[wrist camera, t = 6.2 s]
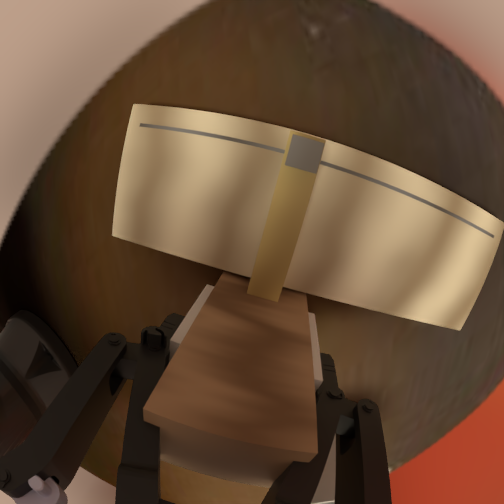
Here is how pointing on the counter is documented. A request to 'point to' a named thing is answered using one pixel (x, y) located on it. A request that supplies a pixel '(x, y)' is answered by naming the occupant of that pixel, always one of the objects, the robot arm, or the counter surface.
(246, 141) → the board
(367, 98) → the counter surface
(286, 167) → the gauge
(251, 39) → the counter surface
